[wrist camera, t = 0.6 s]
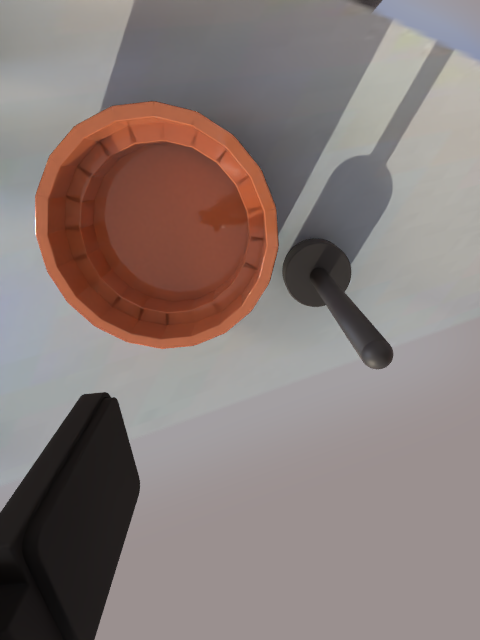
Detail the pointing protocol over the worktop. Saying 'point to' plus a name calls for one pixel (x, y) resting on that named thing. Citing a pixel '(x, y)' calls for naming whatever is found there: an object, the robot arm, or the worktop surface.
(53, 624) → the robot arm
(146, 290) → the bowl
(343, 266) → the grey disc stick
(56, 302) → the worktop surface
